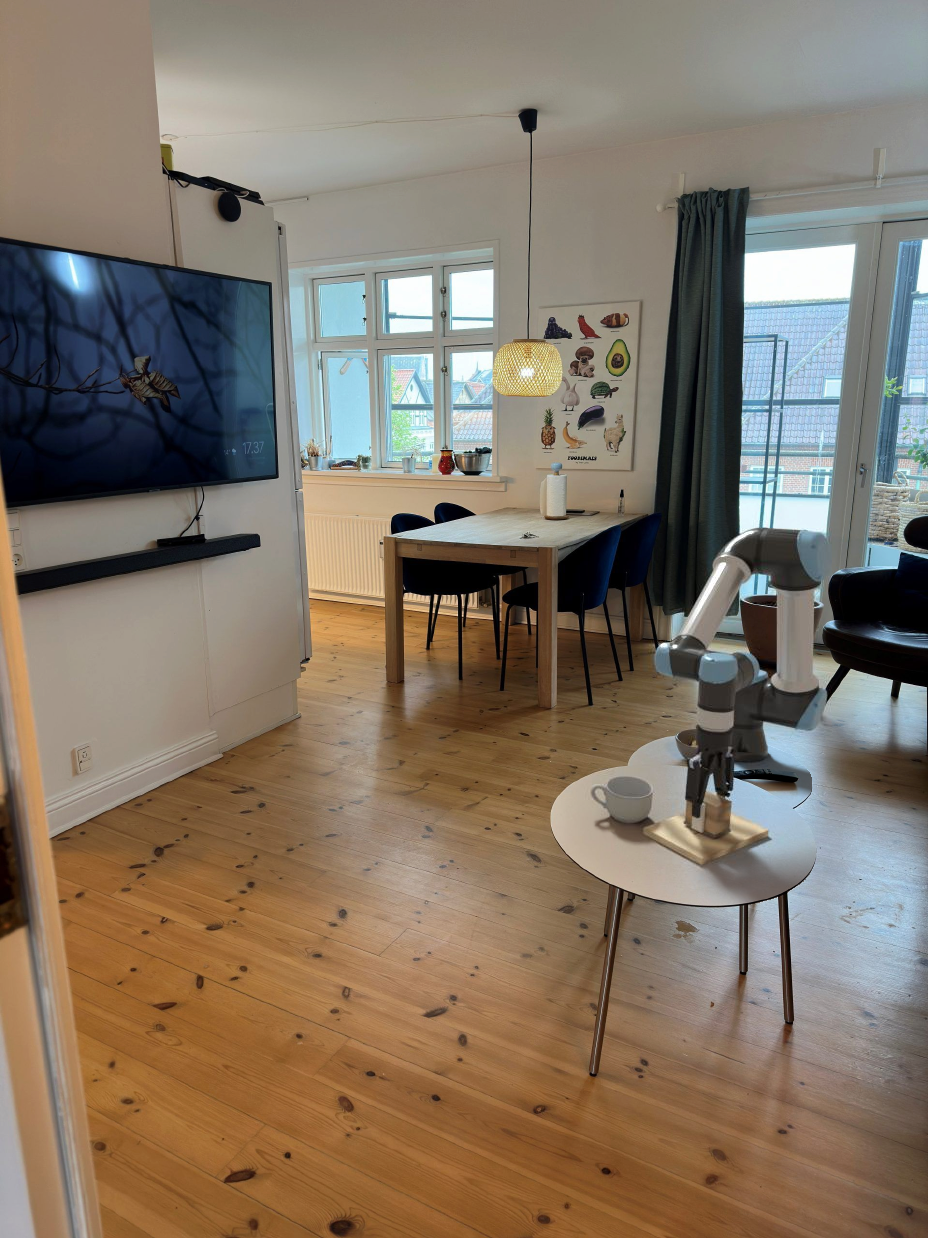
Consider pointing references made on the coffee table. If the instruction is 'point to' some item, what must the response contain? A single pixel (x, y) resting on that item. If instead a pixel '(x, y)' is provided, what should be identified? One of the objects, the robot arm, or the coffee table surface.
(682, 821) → the pine board
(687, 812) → the brown wooden block
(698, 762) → the robot arm
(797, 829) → the coffee table surface
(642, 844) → the coffee table surface
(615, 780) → the teacup
